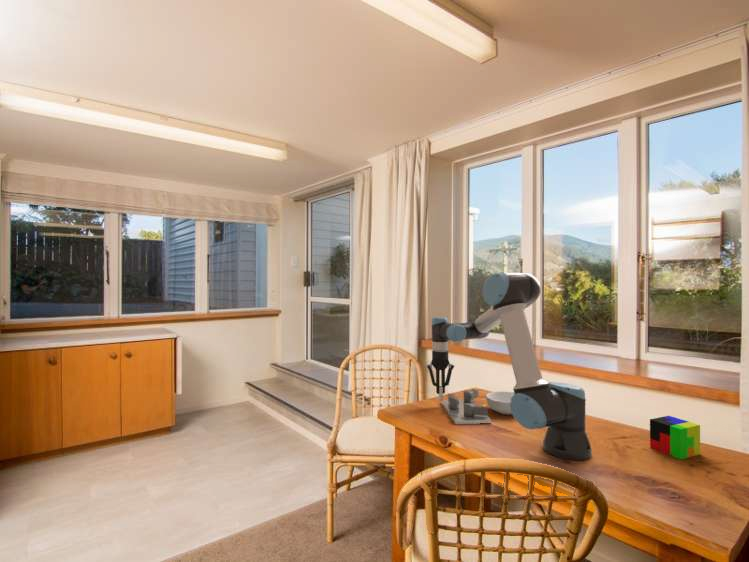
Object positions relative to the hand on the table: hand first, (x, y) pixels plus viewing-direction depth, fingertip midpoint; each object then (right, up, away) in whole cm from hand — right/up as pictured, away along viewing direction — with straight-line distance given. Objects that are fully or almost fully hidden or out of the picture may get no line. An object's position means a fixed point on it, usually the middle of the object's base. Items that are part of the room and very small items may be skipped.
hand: (440, 400), depth 183 cm
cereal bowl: (+28, -3, -7) cm, 29 cm away
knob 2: (+16, -1, +6) cm, 17 cm away
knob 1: (+5, -2, -3) cm, 6 cm away
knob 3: (+12, -1, -16) cm, 20 cm away
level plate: (+9, -3, -8) cm, 12 cm away
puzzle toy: (+73, -3, -48) cm, 87 cm away
